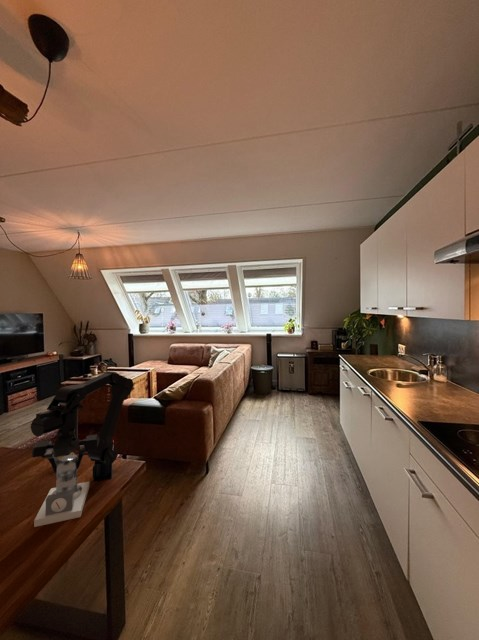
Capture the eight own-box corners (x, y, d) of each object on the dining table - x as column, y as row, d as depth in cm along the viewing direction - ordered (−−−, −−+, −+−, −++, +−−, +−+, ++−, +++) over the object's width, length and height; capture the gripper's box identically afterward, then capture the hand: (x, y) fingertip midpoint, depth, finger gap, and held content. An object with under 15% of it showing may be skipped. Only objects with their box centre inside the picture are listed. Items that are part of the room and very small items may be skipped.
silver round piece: (78, 485, 93) (78, 471, 93) (74, 495, 88) (75, 480, 88) (58, 488, 91) (59, 474, 91) (53, 499, 85) (53, 484, 86)
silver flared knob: (79, 467, 93) (79, 453, 93) (75, 476, 88) (75, 462, 88) (59, 470, 91) (59, 456, 91) (54, 480, 86) (54, 465, 86)
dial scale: (89, 486, 97) (89, 467, 97) (80, 516, 82) (80, 494, 82) (51, 494, 93) (51, 474, 93) (34, 527, 78) (34, 503, 78)
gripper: (25, 438, 79) (24, 490, 79) (95, 430, 85) (94, 477, 85) (38, 424, 89) (37, 470, 89) (99, 418, 96) (99, 460, 96)
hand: (67, 470), depth 89 cm, fingers open, 6 cm apart
